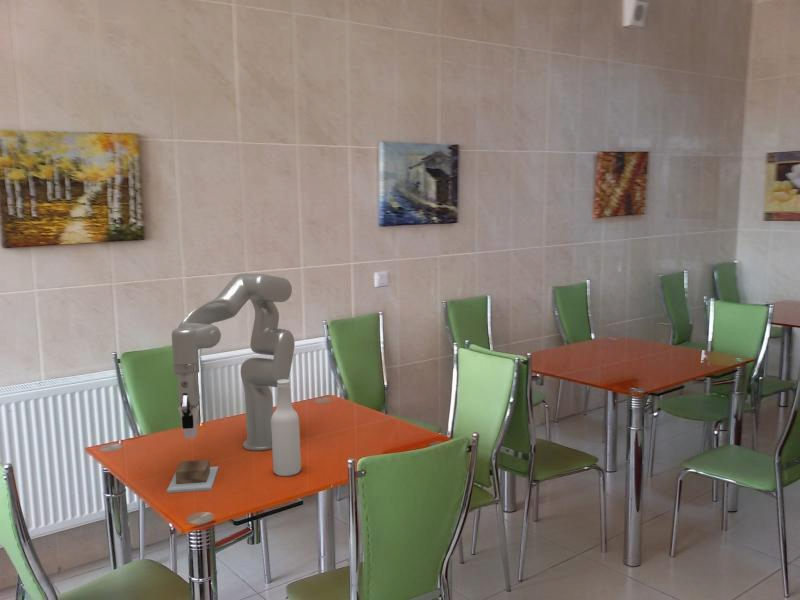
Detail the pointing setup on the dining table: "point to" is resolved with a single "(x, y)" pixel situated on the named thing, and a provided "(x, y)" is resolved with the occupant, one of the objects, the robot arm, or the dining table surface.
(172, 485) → the base
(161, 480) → the dining table surface
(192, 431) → the smoothie
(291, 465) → the alcohol
